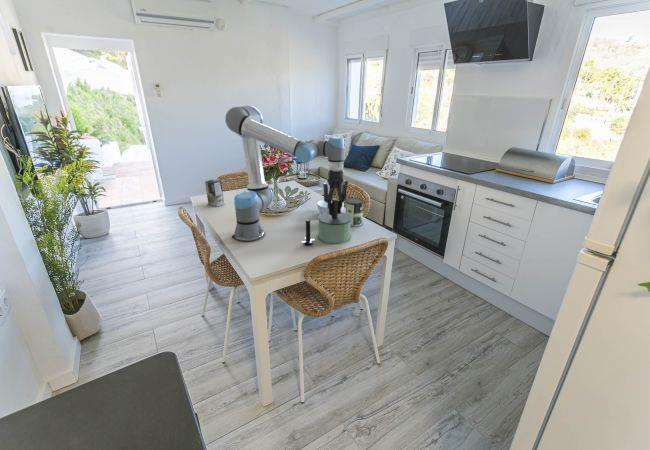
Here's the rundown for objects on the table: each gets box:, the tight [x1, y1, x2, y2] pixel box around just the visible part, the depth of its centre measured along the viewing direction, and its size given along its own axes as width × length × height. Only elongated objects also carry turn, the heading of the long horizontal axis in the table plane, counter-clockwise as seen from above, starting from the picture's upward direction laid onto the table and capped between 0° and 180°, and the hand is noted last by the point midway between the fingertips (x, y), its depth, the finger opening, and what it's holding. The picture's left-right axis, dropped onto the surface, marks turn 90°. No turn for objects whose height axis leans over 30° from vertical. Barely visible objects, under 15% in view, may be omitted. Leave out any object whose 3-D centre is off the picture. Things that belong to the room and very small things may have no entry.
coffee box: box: [204, 179, 225, 207], centre depth 211 cm, size 9×6×16 cm
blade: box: [301, 219, 316, 246], centre depth 158 cm, size 7×7×13 cm
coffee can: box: [344, 197, 364, 227], centre depth 183 cm, size 10×10×14 cm
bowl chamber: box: [318, 220, 351, 244], centre depth 167 cm, size 17×17×10 cm
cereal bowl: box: [316, 199, 345, 214], centre depth 198 cm, size 17×17×7 cm
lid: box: [317, 198, 351, 225], centre depth 162 cm, size 18×18×11 cm
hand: (334, 213), depth 163 cm, fingers open, 4 cm apart
